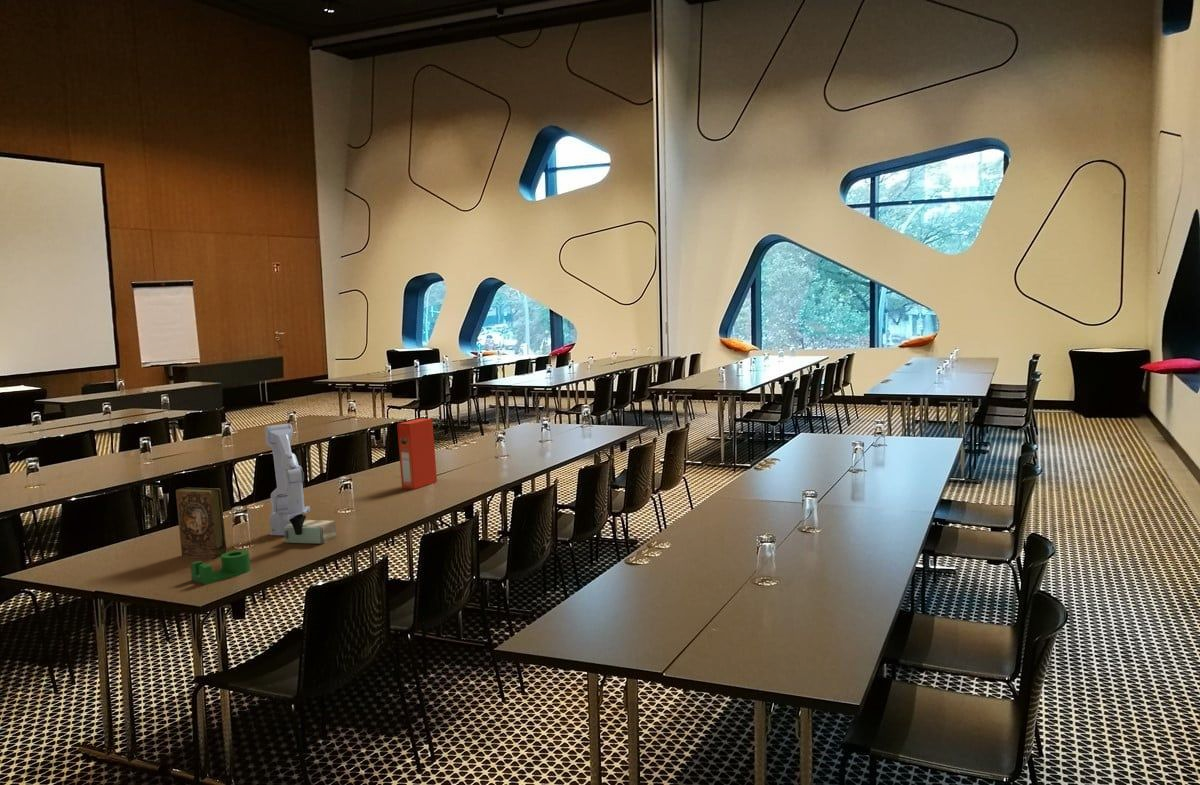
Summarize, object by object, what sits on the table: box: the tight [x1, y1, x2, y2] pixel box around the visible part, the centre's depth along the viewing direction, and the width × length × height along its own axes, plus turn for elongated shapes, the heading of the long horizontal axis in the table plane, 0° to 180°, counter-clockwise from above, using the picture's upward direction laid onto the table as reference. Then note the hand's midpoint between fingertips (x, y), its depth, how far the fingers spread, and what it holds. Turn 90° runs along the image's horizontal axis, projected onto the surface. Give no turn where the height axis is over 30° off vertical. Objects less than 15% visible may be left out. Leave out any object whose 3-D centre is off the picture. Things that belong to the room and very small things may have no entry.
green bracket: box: [190, 549, 251, 586], centre depth 303 cm, size 18×9×6 cm, turn 142°
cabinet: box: [286, 519, 337, 545], centre depth 343 cm, size 16×9×6 cm, turn 75°
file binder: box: [396, 418, 438, 490], centre depth 434 cm, size 8×17×32 cm, turn 152°
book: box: [175, 487, 227, 559], centre depth 327 cm, size 16×6×25 cm, turn 74°
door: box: [284, 527, 323, 544], centre depth 338 cm, size 16×2×6 cm, turn 76°
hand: (298, 534), depth 337 cm, fingers closed
